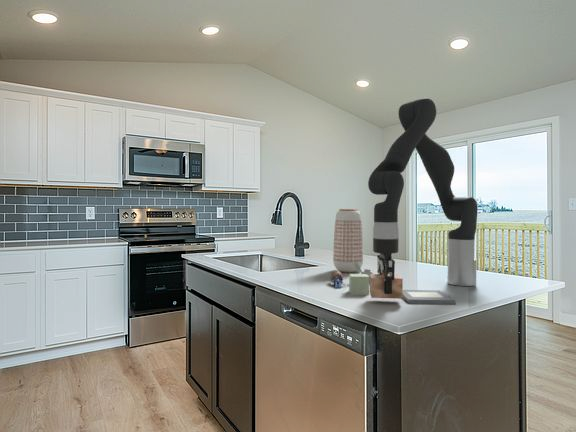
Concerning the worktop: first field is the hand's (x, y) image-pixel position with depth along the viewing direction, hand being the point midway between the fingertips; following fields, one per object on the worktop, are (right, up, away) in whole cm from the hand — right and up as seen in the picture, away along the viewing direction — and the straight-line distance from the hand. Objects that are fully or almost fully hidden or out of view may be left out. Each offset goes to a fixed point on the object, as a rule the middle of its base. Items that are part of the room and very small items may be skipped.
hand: (385, 291), depth 119 cm
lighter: (-1, -3, +31) cm, 31 cm away
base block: (0, -2, 0) cm, 2 cm away
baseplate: (+14, -3, +5) cm, 15 cm away
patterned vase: (-3, -2, +57) cm, 57 cm away
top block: (-6, -3, +13) cm, 15 cm away
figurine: (-12, -3, +26) cm, 28 cm away
